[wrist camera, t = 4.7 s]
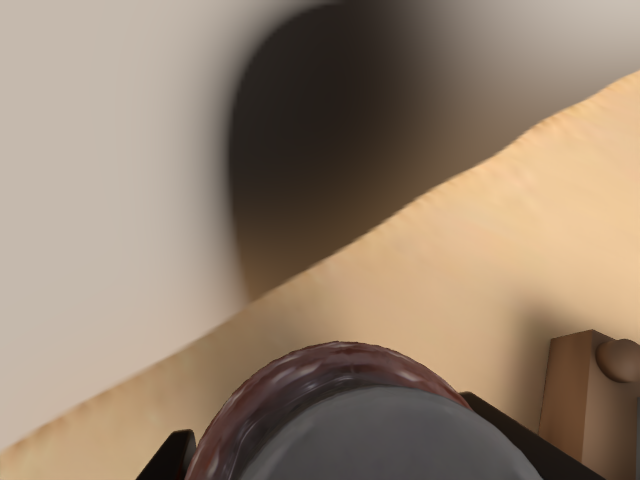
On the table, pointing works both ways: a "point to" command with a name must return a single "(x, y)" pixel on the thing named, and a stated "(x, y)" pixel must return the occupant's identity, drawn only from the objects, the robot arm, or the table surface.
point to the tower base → (594, 402)
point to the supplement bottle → (352, 424)
